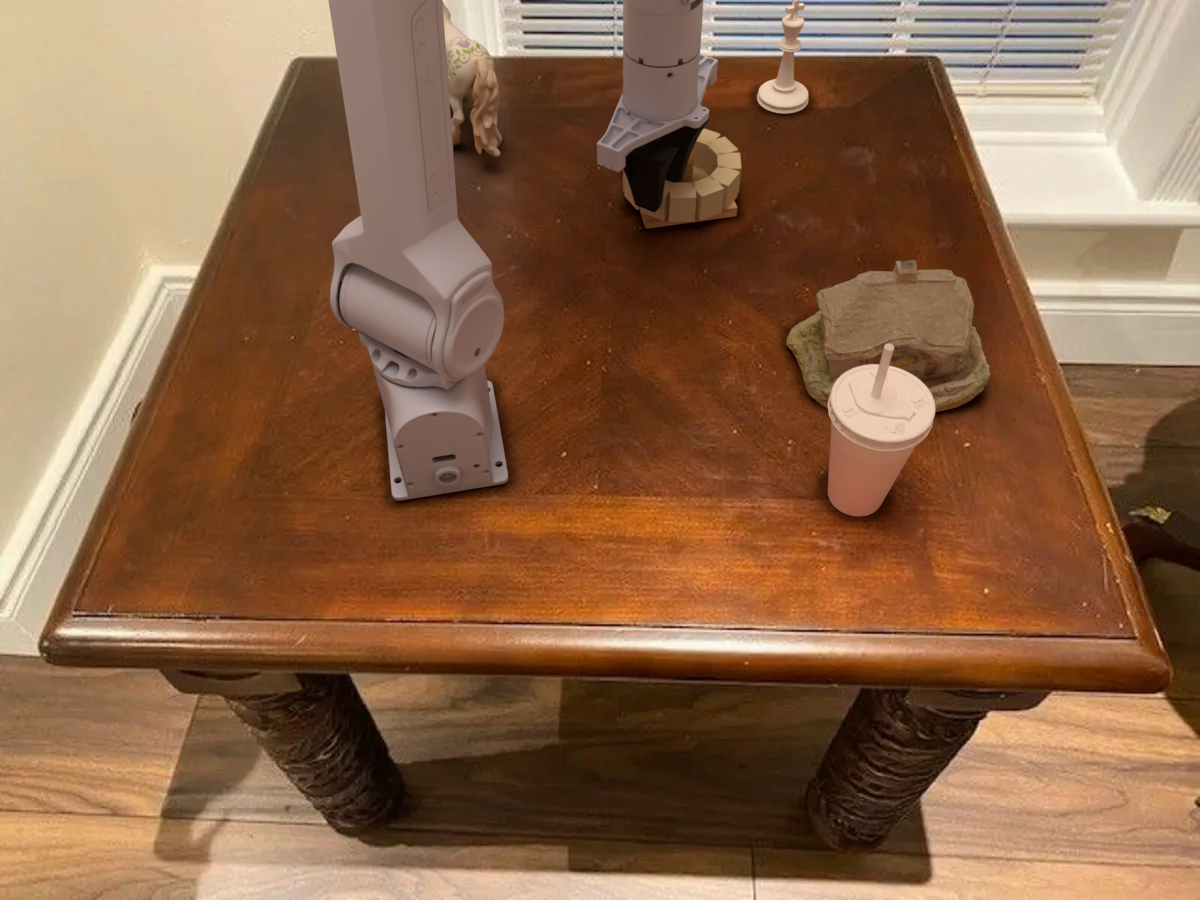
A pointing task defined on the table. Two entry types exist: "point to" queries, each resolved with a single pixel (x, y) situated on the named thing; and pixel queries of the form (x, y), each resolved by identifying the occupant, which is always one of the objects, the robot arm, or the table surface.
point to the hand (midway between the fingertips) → (656, 196)
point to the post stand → (689, 176)
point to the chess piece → (786, 70)
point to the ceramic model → (895, 333)
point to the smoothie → (874, 432)
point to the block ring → (700, 183)
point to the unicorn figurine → (472, 87)
